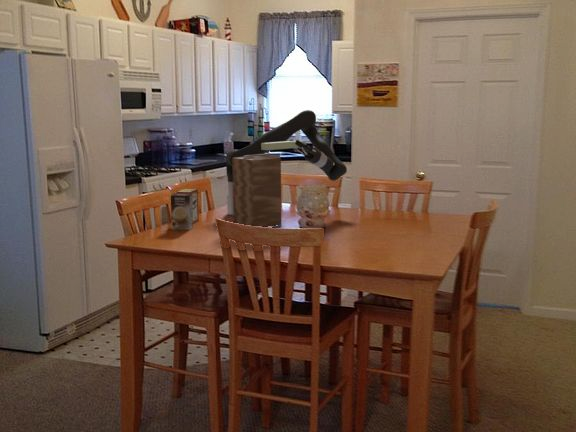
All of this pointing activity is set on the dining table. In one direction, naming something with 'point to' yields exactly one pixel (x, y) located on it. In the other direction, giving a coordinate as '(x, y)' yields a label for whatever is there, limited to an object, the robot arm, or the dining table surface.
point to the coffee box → (181, 211)
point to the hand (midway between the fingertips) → (293, 141)
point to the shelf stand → (257, 190)
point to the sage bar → (280, 145)
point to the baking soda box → (195, 201)
